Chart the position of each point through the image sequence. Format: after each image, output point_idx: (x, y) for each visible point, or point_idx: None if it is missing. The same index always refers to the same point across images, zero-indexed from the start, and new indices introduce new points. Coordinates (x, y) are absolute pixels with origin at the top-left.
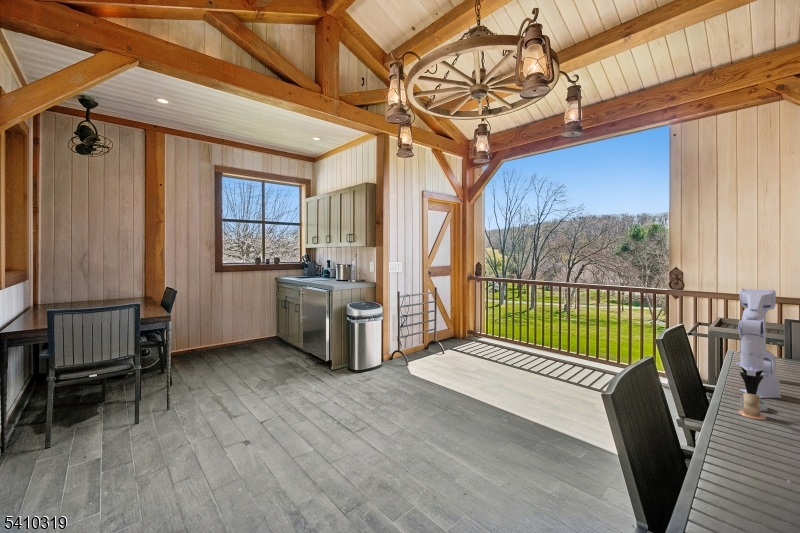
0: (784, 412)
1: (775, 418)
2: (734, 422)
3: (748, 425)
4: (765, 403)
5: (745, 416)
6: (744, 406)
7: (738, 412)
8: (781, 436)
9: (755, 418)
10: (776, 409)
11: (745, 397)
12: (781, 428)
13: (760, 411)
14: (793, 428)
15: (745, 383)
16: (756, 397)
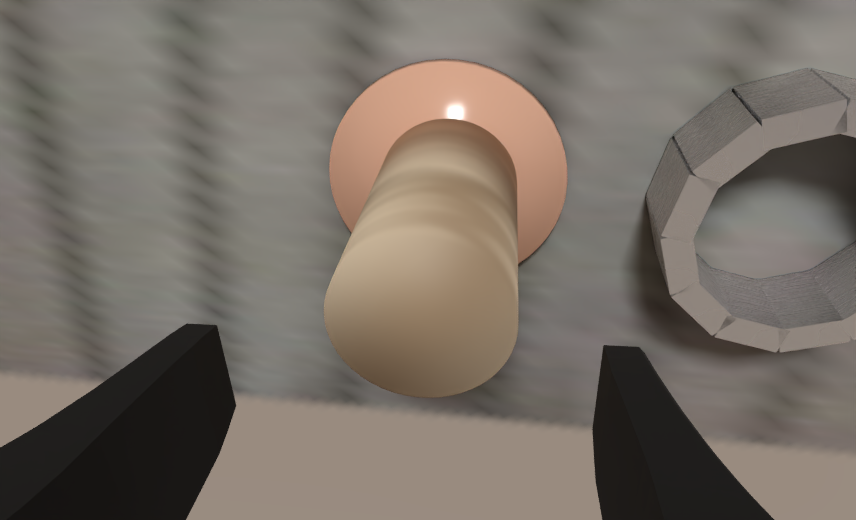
0: (776, 400)
1: (520, 333)
2: (58, 40)
3: (102, 150)
4: (765, 333)
5: (337, 129)
6: (404, 158)
7: (406, 67)
8: (89, 333)
9: (339, 207)
10: (841, 359)
11: (357, 235)
12: (278, 347)
13: (654, 246)
14: (356, 406)
15: (19, 445)
16: (354, 362)
